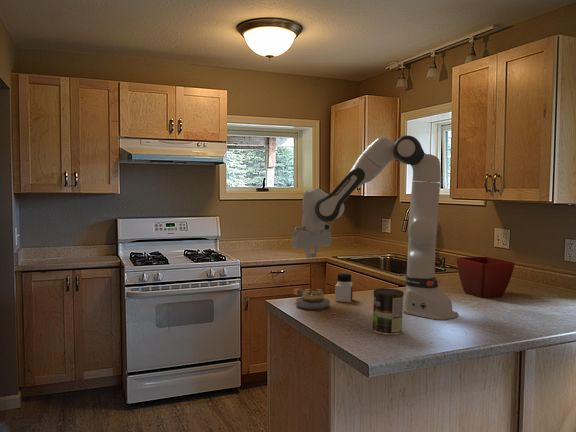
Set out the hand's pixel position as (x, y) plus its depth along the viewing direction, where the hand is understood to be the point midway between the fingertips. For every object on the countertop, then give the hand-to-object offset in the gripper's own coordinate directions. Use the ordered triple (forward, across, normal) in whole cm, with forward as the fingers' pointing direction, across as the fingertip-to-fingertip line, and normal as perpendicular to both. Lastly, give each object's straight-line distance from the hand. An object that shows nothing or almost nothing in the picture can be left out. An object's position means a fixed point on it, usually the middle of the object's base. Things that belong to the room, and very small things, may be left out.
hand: (311, 257), depth 217 cm
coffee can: (+19, -8, -50) cm, 54 cm away
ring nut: (+16, -5, -4) cm, 18 cm away
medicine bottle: (+19, +14, -7) cm, 25 cm away
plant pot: (+19, +78, -36) cm, 89 cm away
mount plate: (+19, -6, -8) cm, 21 cm away
